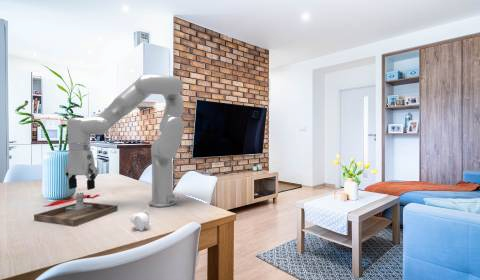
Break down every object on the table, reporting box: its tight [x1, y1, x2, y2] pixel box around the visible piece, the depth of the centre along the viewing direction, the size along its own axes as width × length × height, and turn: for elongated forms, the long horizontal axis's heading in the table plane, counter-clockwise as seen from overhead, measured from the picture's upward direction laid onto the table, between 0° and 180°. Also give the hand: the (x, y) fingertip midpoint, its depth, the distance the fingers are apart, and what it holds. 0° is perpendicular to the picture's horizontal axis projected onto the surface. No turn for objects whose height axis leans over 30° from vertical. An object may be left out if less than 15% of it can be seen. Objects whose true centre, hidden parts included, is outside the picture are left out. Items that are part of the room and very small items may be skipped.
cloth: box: [43, 194, 100, 208], centre depth 128 cm, size 26×14×2 cm, turn 135°
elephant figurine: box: [130, 210, 150, 232], centre depth 91 cm, size 7×8×6 cm
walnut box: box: [33, 201, 119, 227], centre depth 103 cm, size 20×20×3 cm
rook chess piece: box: [74, 192, 85, 209], centre depth 107 cm, size 4×4×8 cm
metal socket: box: [65, 204, 93, 216], centre depth 107 cm, size 7×7×2 cm
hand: (82, 188), depth 107 cm, fingers open, 9 cm apart
